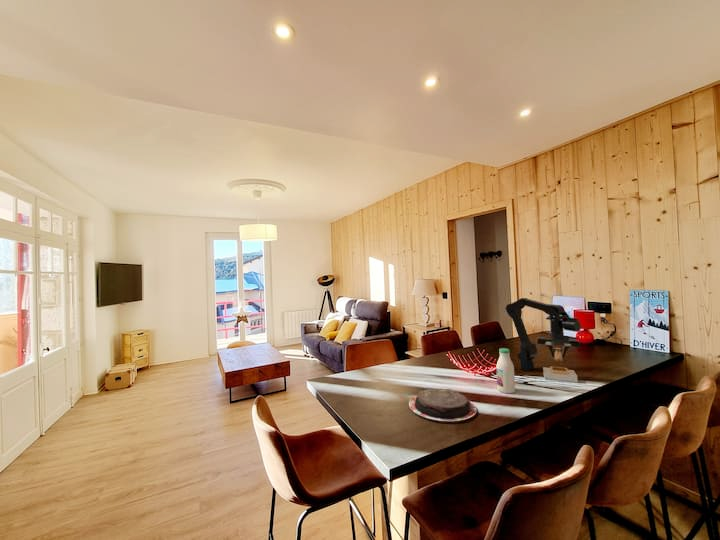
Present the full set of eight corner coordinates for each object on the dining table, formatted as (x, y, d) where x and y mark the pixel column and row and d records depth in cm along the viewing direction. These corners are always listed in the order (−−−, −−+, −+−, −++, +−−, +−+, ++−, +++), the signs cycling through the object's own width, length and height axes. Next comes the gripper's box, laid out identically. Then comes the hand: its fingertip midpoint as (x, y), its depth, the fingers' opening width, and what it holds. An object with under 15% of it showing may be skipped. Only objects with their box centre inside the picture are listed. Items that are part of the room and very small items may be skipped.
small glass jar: (554, 360, 153) (553, 349, 153) (553, 358, 157) (552, 347, 157) (563, 361, 151) (562, 349, 151) (562, 359, 155) (561, 348, 155)
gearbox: (545, 379, 153) (544, 370, 153) (543, 373, 162) (542, 365, 162) (577, 383, 146) (577, 373, 147) (573, 377, 155) (573, 368, 155)
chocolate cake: (439, 390, 143) (438, 377, 143) (491, 411, 119) (490, 395, 119) (395, 405, 127) (395, 390, 128) (445, 432, 104) (444, 414, 104)
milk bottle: (514, 388, 141) (512, 347, 142) (515, 394, 134) (513, 351, 135) (497, 386, 145) (495, 346, 145) (497, 392, 138) (495, 350, 138)
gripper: (537, 330, 152) (538, 359, 152) (581, 332, 143) (582, 364, 142) (536, 326, 162) (537, 354, 161) (577, 328, 153) (578, 358, 152)
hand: (558, 358), depth 154 cm, fingers closed on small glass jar, 4 cm apart
